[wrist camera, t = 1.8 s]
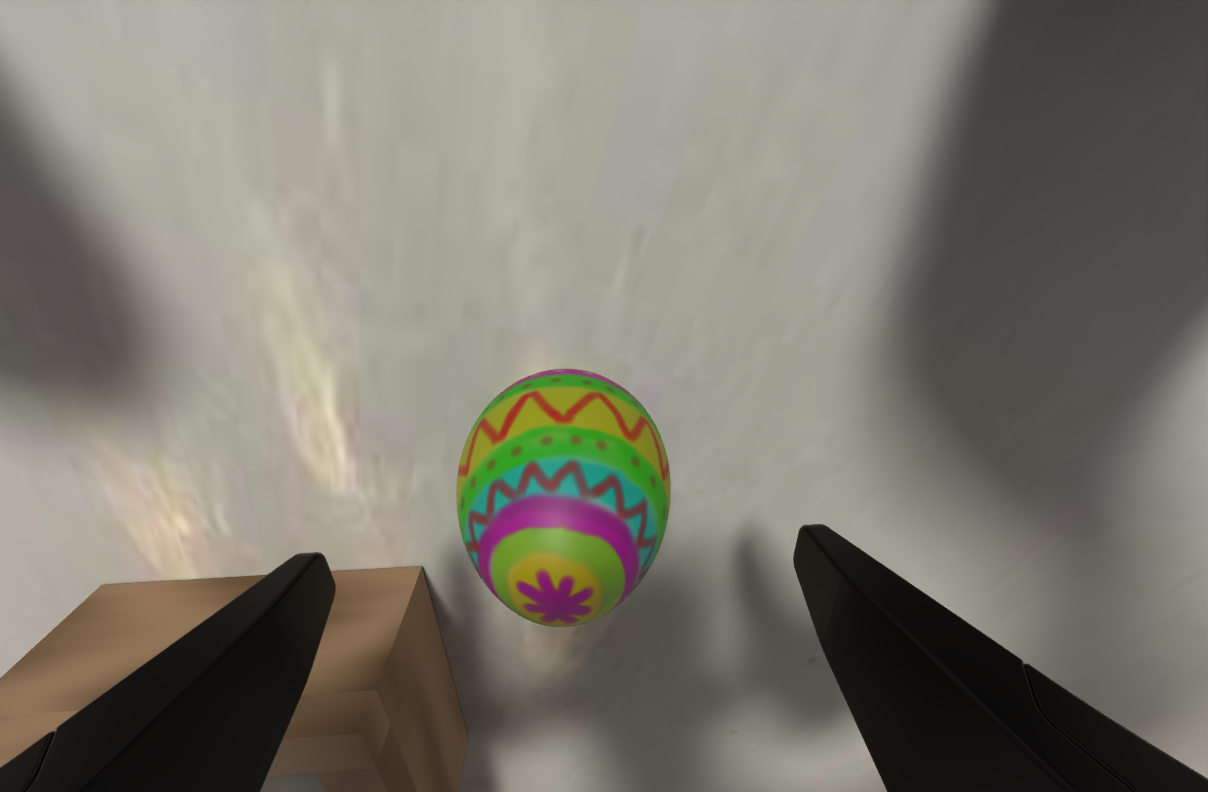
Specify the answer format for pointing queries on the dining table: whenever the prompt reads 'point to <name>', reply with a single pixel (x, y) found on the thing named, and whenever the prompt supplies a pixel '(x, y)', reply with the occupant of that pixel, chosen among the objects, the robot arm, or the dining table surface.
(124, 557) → the dining table surface
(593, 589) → the egg
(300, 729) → the wooden box
